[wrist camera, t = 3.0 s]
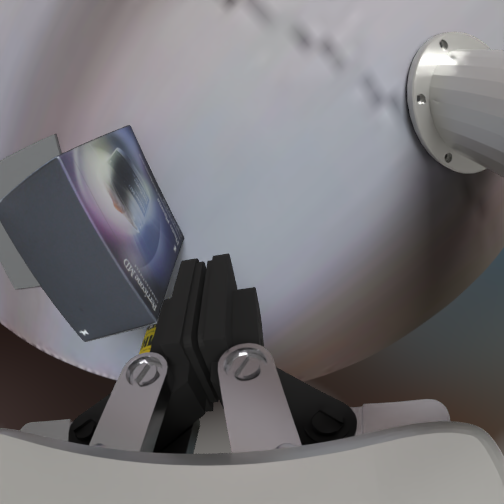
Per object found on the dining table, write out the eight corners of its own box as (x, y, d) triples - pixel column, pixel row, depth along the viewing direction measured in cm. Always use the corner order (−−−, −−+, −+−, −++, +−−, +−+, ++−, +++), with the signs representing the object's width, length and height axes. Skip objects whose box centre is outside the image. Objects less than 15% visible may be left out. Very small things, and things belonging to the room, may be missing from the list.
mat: (56, 133, 20) (54, 134, 19) (106, 275, 27) (105, 277, 26) (-31, 179, 20) (-33, 180, 20) (16, 287, 28) (14, 289, 27)
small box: (190, 237, 25) (163, 328, 16) (127, 260, 26) (83, 346, 17) (133, 120, 20) (57, 152, 11) (70, 158, 21) (-12, 210, 12)
